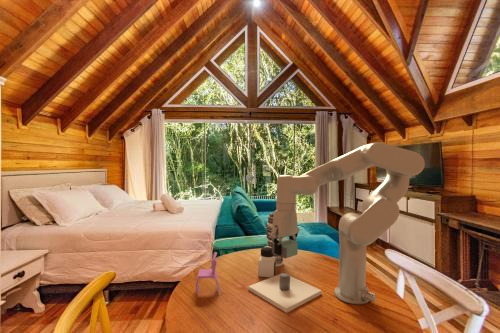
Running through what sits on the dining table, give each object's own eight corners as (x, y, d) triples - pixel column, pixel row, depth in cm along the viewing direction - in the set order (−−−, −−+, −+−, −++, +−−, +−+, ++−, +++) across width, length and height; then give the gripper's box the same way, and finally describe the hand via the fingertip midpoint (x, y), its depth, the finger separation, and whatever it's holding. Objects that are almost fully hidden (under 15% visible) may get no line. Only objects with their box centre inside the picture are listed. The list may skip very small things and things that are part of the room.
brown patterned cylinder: (273, 258, 138) (274, 210, 137) (287, 263, 131) (288, 213, 130) (261, 262, 132) (262, 213, 131) (275, 268, 125) (276, 216, 124)
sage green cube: (297, 254, 101) (297, 241, 101) (285, 258, 97) (285, 245, 97) (283, 249, 107) (284, 237, 107) (271, 253, 102) (272, 240, 102)
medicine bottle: (274, 278, 114) (274, 251, 114) (257, 276, 115) (258, 249, 115) (275, 271, 121) (276, 245, 121) (260, 270, 122) (260, 244, 122)
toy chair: (197, 286, 105) (198, 249, 105) (219, 285, 106) (220, 249, 106) (195, 297, 97) (195, 257, 97) (219, 296, 98) (219, 256, 98)
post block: (321, 294, 101) (321, 277, 101) (286, 312, 88) (286, 293, 88) (282, 276, 116) (283, 261, 116) (248, 289, 103) (248, 273, 103)
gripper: (293, 203, 110) (291, 245, 110) (263, 207, 99) (261, 254, 99) (307, 206, 104) (306, 250, 105) (277, 210, 93) (276, 260, 93)
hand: (284, 251), depth 102 cm, fingers closed on sage green cube, 7 cm apart
